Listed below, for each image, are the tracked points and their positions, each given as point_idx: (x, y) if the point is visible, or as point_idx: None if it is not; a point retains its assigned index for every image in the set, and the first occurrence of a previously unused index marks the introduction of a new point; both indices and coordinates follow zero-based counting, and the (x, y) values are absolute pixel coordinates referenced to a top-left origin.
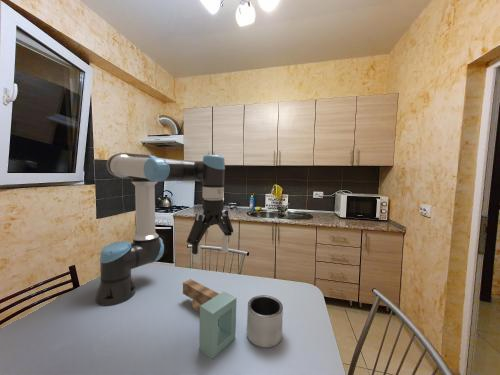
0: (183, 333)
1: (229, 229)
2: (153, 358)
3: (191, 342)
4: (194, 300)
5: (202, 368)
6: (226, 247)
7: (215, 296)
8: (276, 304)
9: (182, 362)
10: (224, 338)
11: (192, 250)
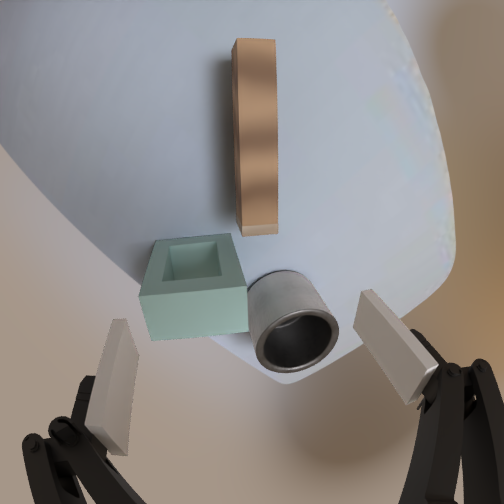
0: (153, 174)
1: (471, 393)
2: (78, 197)
3: (152, 213)
4: (233, 110)
5: (139, 279)
6: (368, 345)
7: (257, 204)
8: (324, 342)
9: (116, 244)
10: (201, 277)
11: (79, 398)
